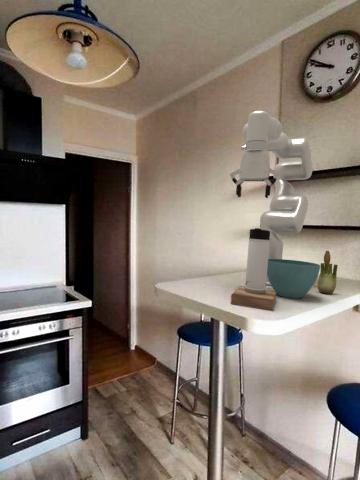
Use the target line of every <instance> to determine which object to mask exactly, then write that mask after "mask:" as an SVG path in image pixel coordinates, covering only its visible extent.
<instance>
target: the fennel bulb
mask: <svg viewBox="0 0 360 480" xmlns="http://www.w3.org/2000/svg"><path fill="white" fill-rule="evenodd" d="M337 274H338V264H333V263H331V262H330V263H329V267H328V263H325V264H324V262H320V270H319V275H318V276H319V277H318V281H317V282H318V287H317V290H318V292H320V293H322V294H328V295H330V294H331V295H332V294H333V293H335V290H336V289H335V287H336V286H337Z"/></svg>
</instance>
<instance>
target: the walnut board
mask: <svg viewBox="0 0 360 480" xmlns="http://www.w3.org/2000/svg"><path fill="white" fill-rule="evenodd" d="M276 301H277V293H276V291H275V290H274V289H273V290H270V289H266V291H265V293H264V294H253V293H249V292H246V291H245V286H243V285H240V286H238V287H237V289H235V290H234V291H233V292H232V293H231V296H230V304H231V305H233V306H234V305H236V306H242V307H246V308H247V307H248V308H255V309H259V310H266V311H271V312H272V311H273V310H274V307H275V303H276Z"/></svg>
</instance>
